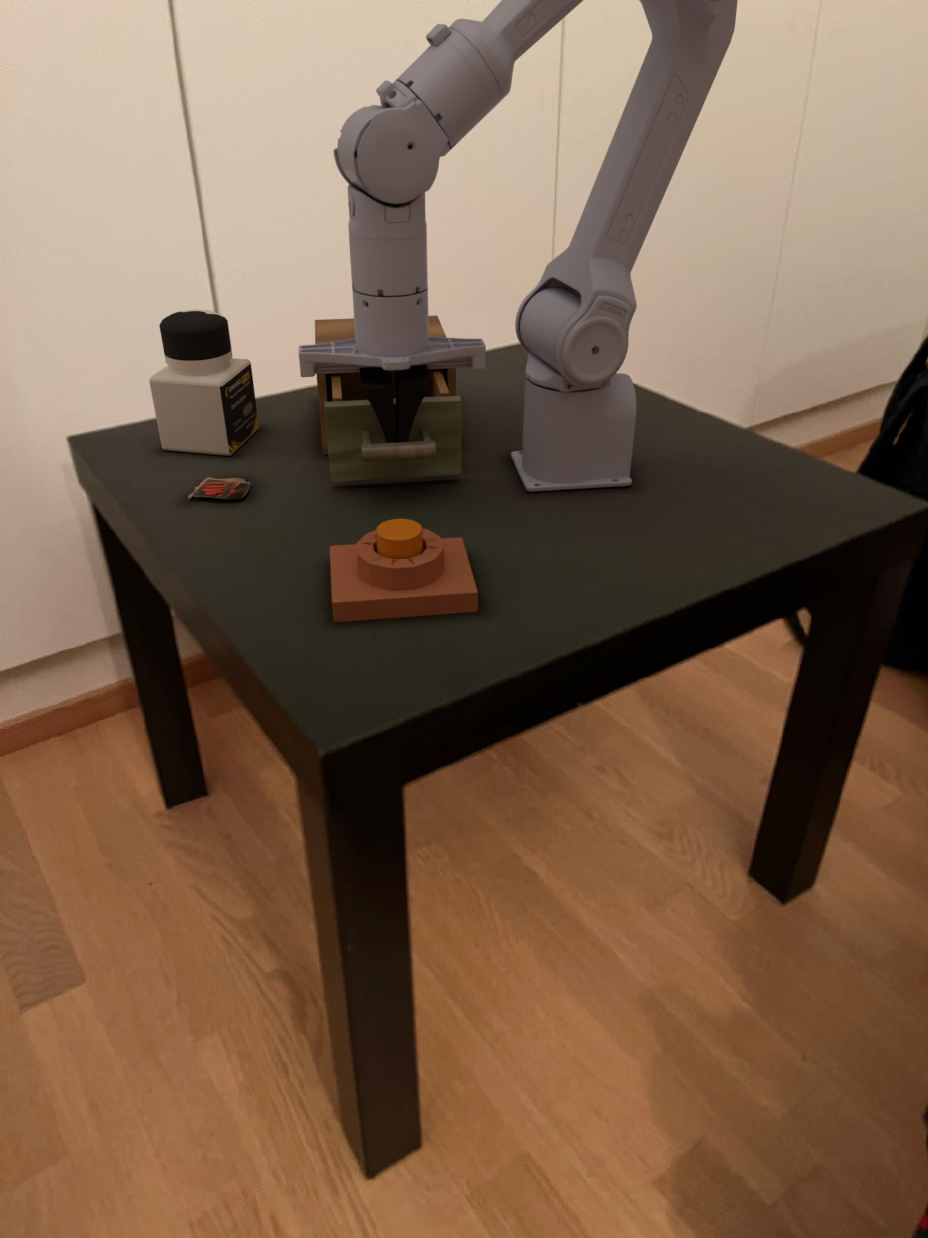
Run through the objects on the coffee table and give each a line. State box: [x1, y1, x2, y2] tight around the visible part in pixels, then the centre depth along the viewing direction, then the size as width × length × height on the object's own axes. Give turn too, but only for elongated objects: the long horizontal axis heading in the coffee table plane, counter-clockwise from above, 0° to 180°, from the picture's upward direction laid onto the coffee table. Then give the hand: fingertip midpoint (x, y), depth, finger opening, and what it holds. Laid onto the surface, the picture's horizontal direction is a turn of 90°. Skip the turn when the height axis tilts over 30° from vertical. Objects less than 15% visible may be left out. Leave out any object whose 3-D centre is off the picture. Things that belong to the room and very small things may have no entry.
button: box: [375, 518, 423, 559], centre depth 66 cm, size 3×3×2 cm
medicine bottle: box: [148, 309, 260, 457], centre depth 87 cm, size 7×7×12 cm
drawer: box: [324, 369, 462, 483], centre depth 83 cm, size 18×11×7 cm, turn 8°
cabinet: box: [314, 314, 457, 456], centre depth 92 cm, size 15×13×9 cm
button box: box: [329, 527, 479, 623], centre depth 67 cm, size 10×8×4 cm
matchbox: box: [187, 476, 251, 501], centre depth 81 cm, size 5×5×1 cm
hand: (396, 455), depth 78 cm, fingers closed, pressing on drawer
